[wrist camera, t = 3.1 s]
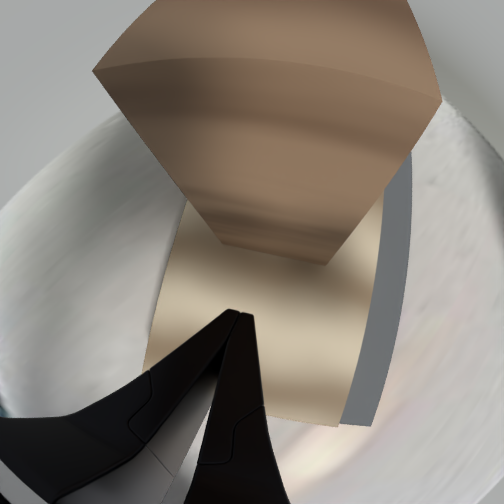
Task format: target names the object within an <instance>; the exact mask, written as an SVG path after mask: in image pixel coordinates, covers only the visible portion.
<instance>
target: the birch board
mask: <svg viewBox="0 0 504 504" xmlns="http://www.w3.org/2000/svg"><path fill="white" fill-rule="evenodd" d="M383 199H384V191H383V192H382V193H381V195H380V196H379V197H378V199H377V200H376V202H375V203H374V204H373V206H372V207H371V208H370V210H369V211H368V212H367V214H366V215H365V216H364V218H363V219H362V220H361V222H360V223H359V224H358V226H357V227H356V228H355V229H354V231H353V232H352V233H351V235H350V236H349V237H348V239H347V240H346V241H345V242H344V244H343V245H342V246H341V247H340V249H339V250H338V251H337V252H336V254H335V255H334V256H333V257H332V259H331V260H330V261H329V262H328V264H327V265H326V266H323V265H318V264H314V263H309V262H304V261H300V260H295V259H290V258H286V257H281V256H276V255H272V254H267V253H262V252H258V251H253V250H248V249H244V248H239V247H234V246H229V245H225V244H222V243H221V241H220V240H219V239H218V238H217V236H216V235H215V234H214V232H213V231H212V230H211V229H210V227H209V226H208V225H207V224H206V222H205V221H204V220H203V218H202V217H201V216H200V214H199V213H198V212H197V211H196V209H195V208H194V207H193V205H192V204H191V203H190V202H189V200H188V199H187V202H186V205H185V208H184V211H183V214H182V217H181V220H180V224H179V227H178V230H177V233H176V237H175V240H174V243H173V247H172V250H171V253H170V257H169V260H168V264H167V268H166V271H165V275H164V279H163V282H162V286H161V290H160V294H159V298H158V302H157V306H156V310H155V314H154V318H153V322H152V327H151V331H150V335H149V340H148V344H147V349H146V354H145V359H144V364H143V369H142V373H144V372H145V371H146V370H149V369H150V368H151V367H152V366H153V365H155V364H156V363H157V362H159V361H160V360H161V359H163V358H164V357H165V356H167V355H168V354H169V353H171V352H172V351H173V350H175V349H176V348H177V347H179V346H180V345H181V344H183V343H184V342H185V341H186V340H188V339H189V338H190V337H192V336H193V335H194V334H196V333H197V332H198V331H199V330H201V329H202V328H203V327H205V326H206V325H207V324H208V323H210V322H211V321H212V320H214V319H215V318H216V317H217V316H219V315H220V314H221V313H222V312H224V311H225V310H226V309H234V310H238V311H240V313H241V312H246V313H250V314H253V315H254V320H255V328H256V337H257V345H258V354H259V362H260V371H261V379H262V388H263V396H264V406H265V412H266V415H268V416H273V417H277V418H282V419H287V420H293V421H298V422H304V423H310V424H317V425H324V426H331V427H338V425H339V422H340V419H341V416H342V413H343V410H344V407H345V404H346V401H347V397H348V394H349V391H350V387H351V384H352V380H353V377H354V373H355V370H356V366H357V362H358V358H359V354H360V350H361V346H362V341H363V337H364V333H365V328H366V323H367V318H368V313H369V308H370V303H371V297H372V292H373V286H374V280H375V273H376V266H377V259H378V251H379V243H380V234H381V224H382V213H383ZM149 371H150V370H149Z"/></svg>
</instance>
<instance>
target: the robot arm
mask: <svg viewBox="0 0 504 504" xmlns="http://www.w3.org/2000/svg"><path fill="white" fill-rule="evenodd" d="M149 370H150V371H149ZM149 370H146V371H145V372H144V373H142V374H141V375H140V376H138V377H137V378H136V379H134V380H133V381H131V382H130V383H128V384H127V385H125V386H124V387H122V388H120V389H119V390H117V391H115V392H113V393H112V394H110V395H108V396H106V397H104V398H103V399H101V400H99V401H97V402H95V403H93V404H91V405H89V406H88V407H86V408H84V409H82V410H80V411H78V412H75V413H73V414H70V415H66V416H60V417H43V418H6V417H1V416H0V504H161V502H162V500H163V499H164V497H165V495H166V493H167V491H168V489H169V487H170V485H171V483H172V482H173V480H174V477H175V476H176V474H177V472H178V470H179V468H180V466H181V464H182V462H183V460H184V458H185V456H186V454H187V452H188V450H189V448H190V446H191V444H192V442H193V440H194V438H195V436H196V434H197V432H198V430H199V428H200V426H201V424H202V422H203V420H204V418H205V416H206V414H207V412H208V410H209V408H210V406H211V408H210V412H209V416H208V420H207V424H206V428H205V432H204V437H203V441H202V445H201V449H200V453H199V457H198V461H197V466H196V469H195V473H194V476H193V480H192V483H191V486H190V488H189V491H188V494H187V496H186V499H185V501H184V504H290V501H289V499H288V497H287V494H286V491H285V488H284V486H283V482H282V479H281V476H280V472H279V469H278V466H277V462H276V459H275V456H274V452H273V449H272V445H271V441H270V436H269V432H268V426H267V420H266V412H265V406H264V396H263V388H262V379H261V371H260V362H259V354H258V345H257V337H256V328H255V320H254V315H253V314H250V313H246V312H241V313H240V311H238V310H234V309H226V310H225V311H224V312H222V313H221V314H220V315H219V316H217V317H216V318H215V319H214V320H212V321H211V322H210V323H208V324H207V325H206V326H205V327H203V328H202V329H201V330H199V331H198V332H197V333H196V334H194V335H193V336H192V337H190V338H189V339H188V340H186V341H185V342H184V343H183V344H181V345H180V346H179V347H177V348H176V349H175V350H173V351H172V352H171V353H169V354H168V355H167V356H165V357H164V358H163V359H161V360H160V361H159V362H157V363H156V364H155V365H153V366H152V367H151V368H150V369H149Z"/></svg>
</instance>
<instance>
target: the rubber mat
mask: <svg viewBox="0 0 504 504" xmlns="http://www.w3.org/2000/svg"><path fill="white" fill-rule="evenodd" d="M411 215H412V157H411V152H410V153H409V155H408V156H407V158H406V159H405V161H404V162H403V163H402V165H401V166H400V168H399V169H398V171H397V172H396V174H395V175H394V176H393V178H392V179H391V181H390V182H389V184H388V185H387V186H386V188H385V189H384V199H383V213H382V224H381V234H380V243H379V251H378V259H377V266H376V273H375V280H374V286H373V292H372V297H371V303H370V308H369V313H368V318H367V323H366V328H365V333H364V337H363V341H362V346H361V350H360V354H359V358H358V362H357V366H356V370H355V373H354V377H353V380H352V384H351V387H350V391H349V394H348V397H347V401H346V404H345V407H344V410H343V413H342V416H341V419H340V422H339V423H340V424H349V425H360V426H371V425H372V422H373V419H374V416H375V413H376V410H377V407H378V404H379V401H380V398H381V394H382V391H383V388H384V384H385V381H386V377H387V373H388V369H389V366H390V362H391V358H392V353H393V349H394V345H395V340H396V336H397V331H398V326H399V320H400V315H401V309H402V303H403V297H404V290H405V283H406V276H407V267H408V258H409V247H410V234H411Z"/></svg>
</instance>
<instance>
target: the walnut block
mask: <svg viewBox="0 0 504 504" xmlns="http://www.w3.org/2000/svg"><path fill="white" fill-rule="evenodd" d="M92 72H93V73H94V74H95V76H96V77H97V78H98V80H99V81H100V83H101V84H102V85H103V87H104V88H105V90H106V91H107V92H108V94H109V95H110V96H111V98H112V99H113V100H114V102H115V103H116V104H117V106H118V107H119V109H120V110H121V111H122V113H123V114H124V115H125V117H126V118H127V120H128V121H129V122H130V124H131V125H132V126H133V128H134V129H135V130H136V132H137V133H138V134H139V136H140V137H141V138H142V140H143V141H144V142H145V144H146V145H147V146H148V148H149V149H150V150H151V152H152V153H153V154H154V156H155V157H156V158H157V160H158V161H159V162H160V164H161V165H162V166H163V168H164V169H165V170H166V172H167V173H168V174H169V175H170V177H171V178H172V179H173V181H174V182H175V183H176V185H177V186H178V187H179V189H180V190H181V191H182V192H183V194H184V195H185V196H186V198H187V199H188V200H189V202H190V203H191V204H192V205H193V207H194V208H195V209H196V211H197V212H198V213H199V214H200V216H201V217H202V218H203V220H204V221H205V222H206V224H207V225H208V226H209V227H210V229H211V230H212V231H213V232H214V234H215V235H216V236H217V238H218V239H219V240H220V241H221V243H222V244H225V245H229V246H234V247H239V248H244V249H248V250H253V251H258V252H262V253H267V254H272V255H276V256H281V257H286V258H290V259H295V260H300V261H304V262H309V263H314V264H318V265H323V266H326V265H327V264H328V262H329V261H330V260H331V259H332V257H333V256H334V255H335V254H336V252H337V251H338V250H339V249H340V247H341V246H342V245H343V244H344V242H345V241H346V240H347V239H348V237H349V236H350V235H351V233H352V232H353V231H354V229H355V228H356V227H357V226H358V224H359V223H360V222H361V220H362V219H363V218H364V216H365V215H366V214H367V212H368V211H369V210H370V208H371V207H372V206H373V204H374V203H375V202H376V200H377V199H378V197H379V196H380V195H381V193H382V192H383V191H384V189H385V188H386V186H387V185H388V184H389V182H390V181H391V179H392V178H393V176H394V175H395V174H396V172H397V171H398V169H399V168H400V166H401V165H402V163H403V162H404V161H405V159H406V158H407V156H408V155H409V153H410V152H411V150H412V149H413V147H414V146H415V144H416V143H417V141H418V140H419V138H420V137H421V135H422V133H423V132H424V130H425V129H426V127H427V126H428V124H429V122H430V121H431V119H432V118H433V116H434V114H435V113H436V111H437V110H438V108H439V106H440V105H441V103H442V98H441V94H440V90H439V86H438V83H437V79H436V75H435V72H434V69H433V65H432V62H431V59H430V56H429V54H428V51H427V48H426V45H425V43H424V39H423V37H422V34H421V32H420V29H419V27H418V24H417V22H416V20H415V17H414V15H413V13H412V11H411V8H410V6H409V4H408V2H407V0H156V1H155V2H154V3H152V4H151V5H150V6H149V7H148V8H147V9H146V10H145V11H144V12H143V13H142V14H141V15H140V16H139V17H138V18H137V19H136V20H135V21H134V22H133V23H132V24H131V25H130V26H129V27H128V28H127V29H126V31H125V32H124V33H123V34H122V35H121V36H120V37H119V38H118V40H117V41H116V42H115V43H114V44H113V45H112V46H111V48H110V49H109V50H108V51H107V53H106V54H105V55H104V56H103V57H102V59H101V60H100V61H99V62H98V64H97V65H96V66H95V68H94V69H93V70H92Z"/></svg>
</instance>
